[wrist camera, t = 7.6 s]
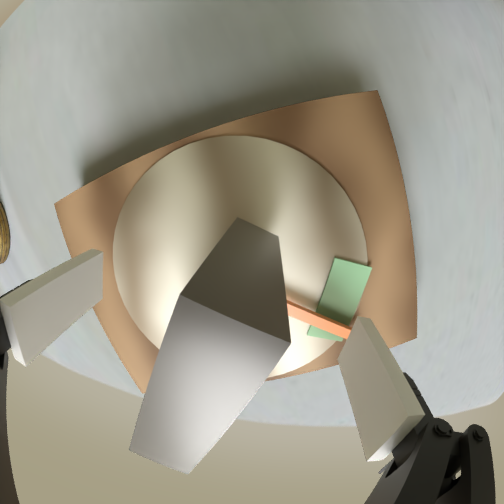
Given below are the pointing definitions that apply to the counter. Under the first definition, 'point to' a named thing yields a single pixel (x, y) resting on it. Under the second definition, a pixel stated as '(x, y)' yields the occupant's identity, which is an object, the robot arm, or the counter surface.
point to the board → (262, 215)
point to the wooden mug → (4, 236)
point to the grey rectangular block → (219, 347)
